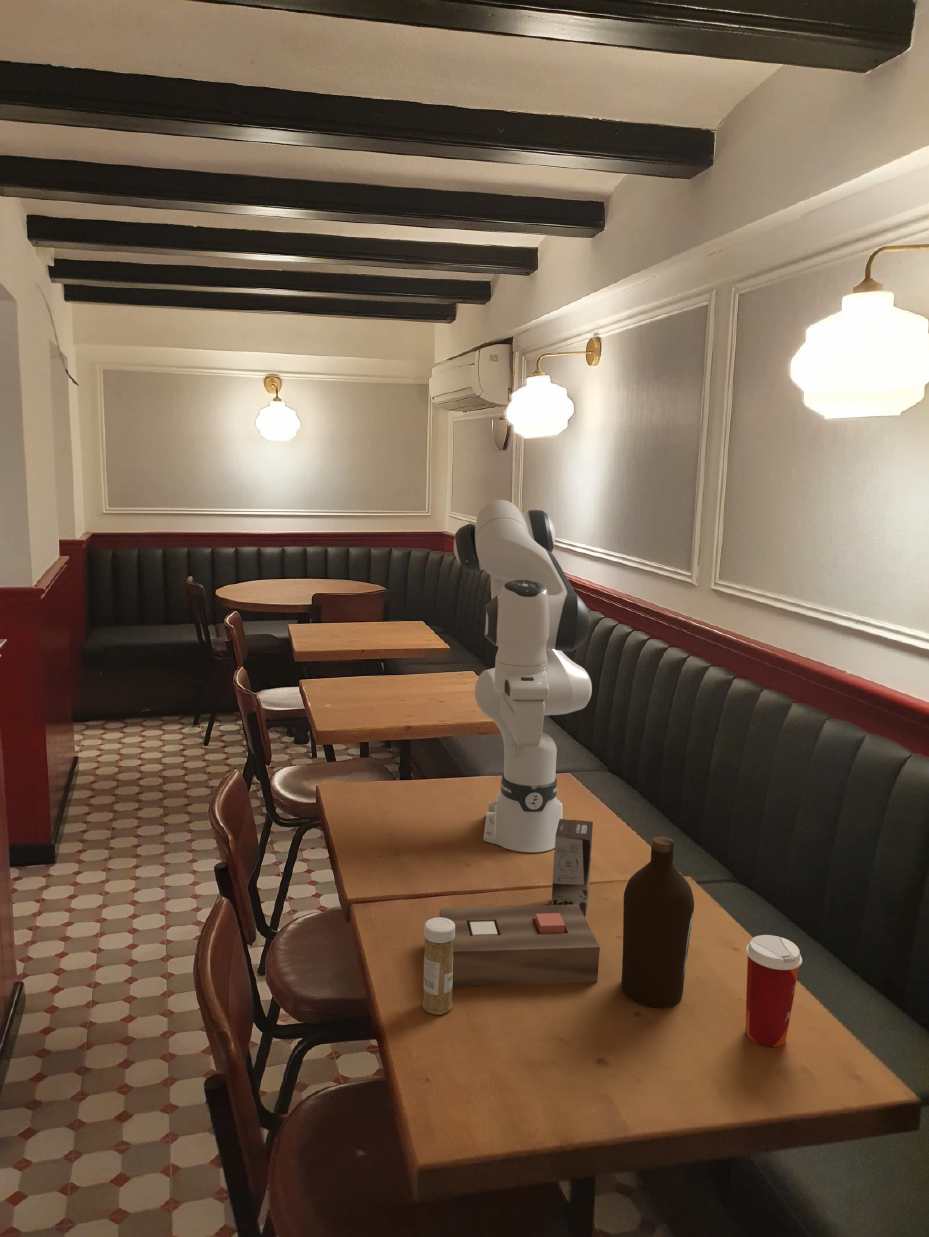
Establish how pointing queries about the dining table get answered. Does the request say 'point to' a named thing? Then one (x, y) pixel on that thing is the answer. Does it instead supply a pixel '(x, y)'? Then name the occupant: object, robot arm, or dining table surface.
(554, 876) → the coffee box
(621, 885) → the dining table surface
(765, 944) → the paper cup
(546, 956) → the socket block
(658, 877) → the olive oil
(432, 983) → the spice jar
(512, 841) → the robot arm
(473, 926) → the white plug
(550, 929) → the red plug
